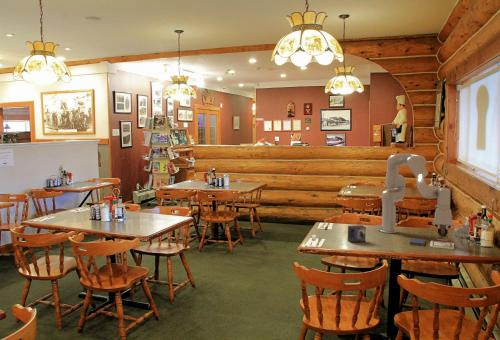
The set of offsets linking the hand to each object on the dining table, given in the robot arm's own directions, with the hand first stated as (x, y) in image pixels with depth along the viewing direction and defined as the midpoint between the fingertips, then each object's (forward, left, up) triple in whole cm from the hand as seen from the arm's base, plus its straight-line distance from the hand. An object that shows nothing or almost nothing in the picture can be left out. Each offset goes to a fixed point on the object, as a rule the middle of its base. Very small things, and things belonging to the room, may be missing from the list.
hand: (442, 234), depth 276 cm
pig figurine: (+13, +31, -8) cm, 35 cm away
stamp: (0, 0, -3) cm, 3 cm away
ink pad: (-15, 0, -7) cm, 17 cm away
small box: (-53, -13, -8) cm, 55 cm away
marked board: (0, 0, -7) cm, 7 cm away
